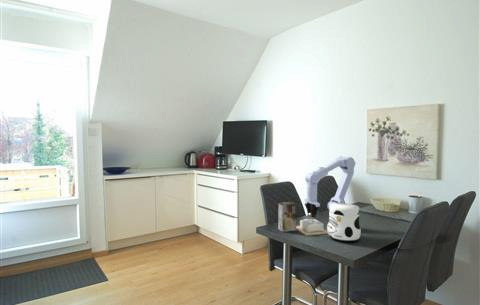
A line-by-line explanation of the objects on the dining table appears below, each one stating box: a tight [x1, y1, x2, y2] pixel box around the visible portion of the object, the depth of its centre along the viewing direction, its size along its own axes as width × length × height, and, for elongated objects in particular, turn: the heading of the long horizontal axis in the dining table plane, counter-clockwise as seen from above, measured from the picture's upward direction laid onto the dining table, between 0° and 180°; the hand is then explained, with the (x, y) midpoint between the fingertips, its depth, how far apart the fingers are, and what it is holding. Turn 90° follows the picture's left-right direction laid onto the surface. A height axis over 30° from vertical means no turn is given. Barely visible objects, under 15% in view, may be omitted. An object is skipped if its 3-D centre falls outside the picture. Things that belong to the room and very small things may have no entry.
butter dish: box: [296, 218, 328, 236], centre depth 183 cm, size 16×17×5 cm
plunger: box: [304, 212, 320, 224], centre depth 183 cm, size 7×7×6 cm
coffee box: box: [277, 201, 297, 233], centre depth 183 cm, size 9×6×16 cm
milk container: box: [326, 202, 362, 242], centre depth 168 cm, size 17×17×18 cm
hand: (311, 216), depth 183 cm, fingers closed on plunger, 4 cm apart
